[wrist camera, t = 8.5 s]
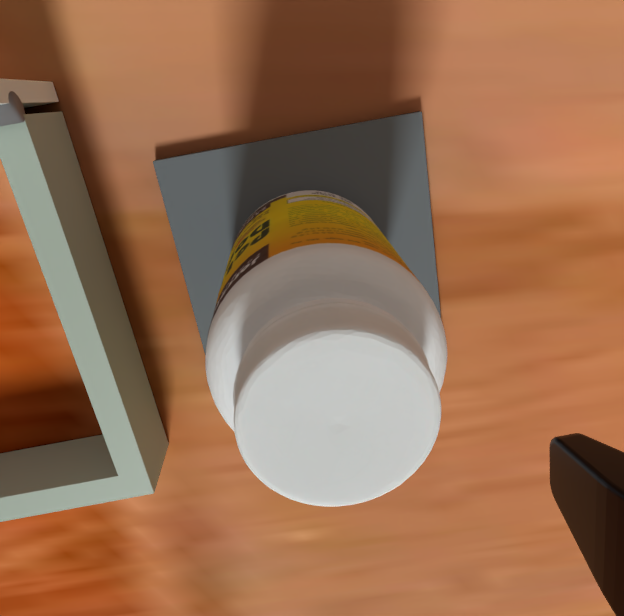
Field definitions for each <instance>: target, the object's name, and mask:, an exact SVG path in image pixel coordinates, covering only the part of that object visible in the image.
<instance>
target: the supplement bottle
mask: <svg viewBox="0 0 624 616" xmlns="http://www.w3.org/2000/svg"><path fill="white" fill-rule="evenodd" d="M446 363H447V343H446V336H445V331H444V327H443V324H442V321H441V318H440V315H439V313H438V311H437V309H436V307H435V305H434V303H433V301H432V299H431V298H430V296H429V294H428V293H427V291H426V290H425V288H424V287H423V285H422V284H421V283H420V282H419V280H418V279H417V278H416V276H415V275H414V274H413V273H412V271H411V270H410V269H409V268H408V266H407V265H406V264H405V262H404V261H403V260H402V258H401V257H400V256H399V255H398V253H397V252H396V250H395V249H394V248H393V246H392V245H391V244H390V243H389V241H388V240H387V239H386V237H385V236H384V235H383V233H382V232H381V231H380V229H379V228H378V227H377V225H376V224H375V223H374V222H373V220H372V219H371V218H370V217H369V216H368V215H367V214H366V213H365V212H364V211H363V210H362V209H361V208H360V207H358V206H357V205H356V204H354V203H352V202H351V201H349V200H347V199H345V198H343V197H341V196H338V195H336V194H332V193H328V192H324V191H316V190H304V191H296V192H291V193H287V194H284V195H281V196H279V197H276V198H274V199H272V200H270V201H268V202H267V203H265V204H264V205H262V206H261V207H259V208H258V209H257V210H256V211H255V212H254V213H253V214H252V215H251V216H250V217H249V218H248V219H247V220H246V222H245V223H244V224H243V226H242V228H241V229H240V231H239V232H238V234H237V236H236V238H235V241H234V243H233V247H232V250H231V253H230V256H229V260H228V264H227V267H226V271H225V275H224V278H223V281H222V285H221V288H220V291H219V293H218V298H217V303H216V306H215V310H214V314H213V317H212V320H211V324H210V328H209V332H208V340H207V346H206V374H207V381H208V385H209V388H210V391H211V394H212V397H213V399H214V402H215V404H216V406H217V408H218V410H219V412H220V413H221V415H222V417H223V418H224V420H225V421H226V423H227V424H228V425H229V426H230V427H231V429H232V430H233V431H234V432H235V437H236V441H237V444H238V448H239V450H240V453H241V455H242V457H243V459H244V461H245V463H246V464H247V465H248V467H249V468H250V470H251V471H252V472H253V473H254V474H255V475H256V476H257V477H258V478H259V480H261V481H262V482H263V483H264V484H265V485H267V486H268V487H269V488H271V489H272V490H274V491H276V492H277V493H279V494H281V495H283V496H285V497H287V498H289V499H292V500H295V501H298V502H301V503H305V504H310V505H317V506H326V507H327V506H345V505H353V504H357V503H362V502H365V501H368V500H371V499H374V498H377V497H379V496H382V495H383V494H385V493H387V492H389V491H391V490H393V489H394V488H396V487H397V486H399V485H400V484H402V483H403V482H404V481H405V480H407V479H408V478H409V477H410V476H411V475H412V474H413V473H414V472H415V471H416V470H417V469H418V468H419V467H420V466H421V465H422V463H423V462H424V461H425V459H426V458H427V456H428V454H429V453H430V451H431V449H432V447H433V445H434V443H435V440H436V438H437V434H438V431H439V426H440V420H441V400H440V394H439V393H440V390H441V387H442V384H443V380H444V375H445V371H446Z"/></svg>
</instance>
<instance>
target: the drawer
mask: <svg viewBox="0 0 624 616" xmlns="http://www.w3.org/2000/svg"><path fill="white" fill-rule="evenodd" d="M54 102H59V100H58V97H57V94H56V91H55V88H54V85H53V82H49V81H33V80H16V79H0V159H1V161H2V164H3V167H4V169H5V172H6V175H7V177H8V180H9V183H10V185H11V188H12V191H13V194H14V196H15V199H16V202H17V204H18V207H19V210H20V212H21V215H22V218H23V220H24V223H25V226H26V229H27V231H28V234H29V237H30V239H31V242H32V245H33V247H34V250H35V253H36V256H37V258H38V261H39V264H40V266H41V269H42V272H43V274H44V277H45V280H46V283H47V285H48V288H49V291H50V293H51V296H52V299H53V301H54V304H55V307H56V309H57V312H58V315H59V318H60V320H61V323H62V326H63V328H64V331H65V334H66V336H67V339H68V342H69V345H70V347H71V350H72V353H73V355H74V358H75V361H76V363H77V366H78V369H79V372H80V374H81V377H82V380H83V382H84V385H85V388H86V390H87V393H88V396H89V399H90V401H91V404H92V407H93V409H94V412H95V415H96V417H97V420H98V423H99V425H100V428H101V431H102V434H103V435H97V436H92V437H87V438H81V439H76V440H70V441H65V442H60V443H54V444H49V445H43V446H38V447H33V448H27V449H22V450H16V451H11V452H6V453H0V522H2V521H8V520H13V519H18V518H24V517H29V516H35V515H40V514H45V513H51V512H56V511H62V510H67V509H72V508H78V507H83V506H89V505H94V504H99V503H105V502H110V501H116V500H121V499H126V498H132V497H137V496H143V495H148V494H153V493H154V492H155V488H156V485H157V482H158V478H159V475H160V472H161V468H162V465H163V461H164V458H165V455H166V451H167V448H168V445H169V443H168V440H167V437H166V434H165V431H164V428H163V425H162V422H161V418H160V415H159V412H158V409H157V406H156V403H155V400H154V397H153V393H152V390H151V387H150V384H149V381H148V378H147V375H146V372H145V369H144V365H143V362H142V359H141V356H140V353H139V350H138V347H137V344H136V340H135V337H134V334H133V331H132V328H131V325H130V322H129V319H128V316H127V312H126V309H125V306H124V303H123V300H122V297H121V294H120V291H119V287H118V284H117V281H116V278H115V275H114V272H113V269H112V266H111V263H110V259H109V256H108V253H107V250H106V247H105V244H104V241H103V238H102V234H101V231H100V228H99V225H98V222H97V219H96V216H95V213H94V209H93V206H92V203H91V200H90V197H89V194H88V191H87V188H86V185H85V181H84V178H83V175H82V172H81V169H80V166H79V163H78V160H77V156H76V153H75V150H74V147H73V144H72V141H71V138H70V135H69V132H68V128H67V125H66V122H65V119H64V116H63V113H62V112H49V113H36V114H25V111H24V108H27V107H33V106H38V105H44V104H49V103H54Z"/></svg>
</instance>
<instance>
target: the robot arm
mask: <svg viewBox="0 0 624 616" xmlns="http://www.w3.org/2000/svg"><path fill="white" fill-rule="evenodd" d="M550 486H551V490H552V493H553V496H554V499H555V501H556V503H557V505H558V507H559V509H560V511H561V513H562V515H563V517H564V519H565V521H566V523H567V524H568V526H569V528H570V530H571V532H572V534H573V536H574V538H575V540H576V542H577V544H578V546H579V548H580V550H581V552H582V554H583V556H584V558H585V560H586V562H587V564H588V566H589V568H590V570H591V572H592V574H593V576H594V578H595V580H596V582H597V584H598V586H599V587H600V589H601V591H602V593H603V595H604V596H605V598H606V600H607V601H608V603H609V605H610V606H611V608H612V610H613V611H614V613H615V614H616V616H624V452H622V451H619V450H617V449H615V448H613V447H610V446H608V445H606V444H603V443H601V442H599V441H597V440H594V439H592V438H590V437H587V436H585V435H582V434H579V433H575V434H569V435H564V436H559V437H555V438H553V439H552V440H551V443H550Z"/></svg>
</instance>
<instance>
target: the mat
mask: <svg viewBox="0 0 624 616" xmlns="http://www.w3.org/2000/svg"><path fill="white" fill-rule="evenodd" d="M153 164H154V168H155V171H156V175H157V179H158V182H159V186H160V190H161V193H162V197H163V201H164V204H165V208H166V212H167V215H168V219H169V223H170V226H171V230H172V234H173V238H174V241H175V245H176V249H177V252H178V256H179V260H180V263H181V267H182V271H183V274H184V278H185V282H186V285H187V289H188V293H189V296H190V300H191V304H192V307H193V311H194V315H195V319H196V322H197V326H198V330H199V333H200V337H201V341H202V344H203V348H204V352H205V355H206V346H207V340H208V332H209V328H210V324H211V320H212V317H213V314H214V310H215V306H216V303H217V298H218V293H219V291H220V288H221V285H222V281H223V278H224V275H225V271H226V267H227V264H228V260H229V256H230V253H231V250H232V247H233V243H234V241H235V238H236V236H237V234H238V232H239V231H240V229H241V228H242V226H243V224H244V223H245V222H246V220H247V219H248V218H249V217H250V216H251V215H252V214H253V213H254V212H255V211H256V210H257V209H258V208H259V207H261V206H262V205H264V204H265V203H267V202H268V201H270V200H272V199H274V198H276V197H279V196H281V195H284V194H287V193H291V192H296V191H304V190H316V191H324V192H328V193H332V194H336V195H338V196H341V197H343V198H345V199H347V200H349V201H351V202H352V203H354V204H356V205H357V206H358V207H360V208H361V209H362V210H363V211H364V212H365V213H366V214H367V215H368V216H369V217H370V218H371V219H372V220H373V222H374V223H375V224H376V225H377V227H378V228H379V229H380V231H381V232H382V233H383V235H384V236H385V237H386V239H387V240H388V241H389V243H390V244H391V245H392V246H393V248H394V249H395V250H396V252H397V253H398V255H399V256H400V257H401V258H402V260H403V261H404V262H405V264H406V265H407V266H408V268H409V269H410V270H411V271H412V273H413V274H414V275H415V276H416V278H417V279H418V280H419V282H420V283H421V284H422V285H423V287H424V288H425V290H426V291H427V293H428V294H429V296H430V298H431V299H432V301H433V303H434V305H435V307H436V309H437V311H438V313H439V315H440V318H441V314H440V304H439V293H438V282H437V271H436V260H435V250H434V239H433V228H432V217H431V206H430V195H429V185H428V174H427V163H426V152H425V141H424V130H423V120H422V112H420V111H418V112H413V113H407V114H402V115H397V116H391V117H386V118H380V119H375V120H370V121H364V122H359V123H353V124H348V125H343V126H337V127H332V128H326V129H321V130H316V131H310V132H305V133H299V134H294V135H289V136H283V137H278V138H272V139H267V140H262V141H256V142H251V143H245V144H240V145H235V146H229V147H224V148H218V149H213V150H208V151H202V152H197V153H191V154H186V155H181V156H175V157H170V158H164V159H159V160H155V161H153Z"/></svg>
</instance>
